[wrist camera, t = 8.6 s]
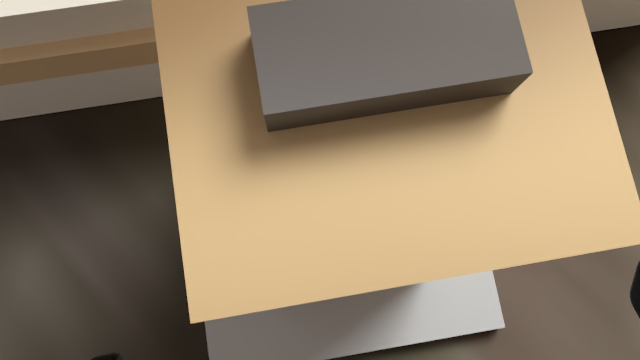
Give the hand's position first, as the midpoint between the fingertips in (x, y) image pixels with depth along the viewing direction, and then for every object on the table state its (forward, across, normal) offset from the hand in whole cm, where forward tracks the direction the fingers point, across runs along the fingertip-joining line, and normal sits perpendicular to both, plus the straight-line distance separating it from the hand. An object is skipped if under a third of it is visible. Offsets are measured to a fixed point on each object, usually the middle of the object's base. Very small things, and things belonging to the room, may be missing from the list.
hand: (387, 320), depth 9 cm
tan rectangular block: (+8, 0, +3) cm, 8 cm away
